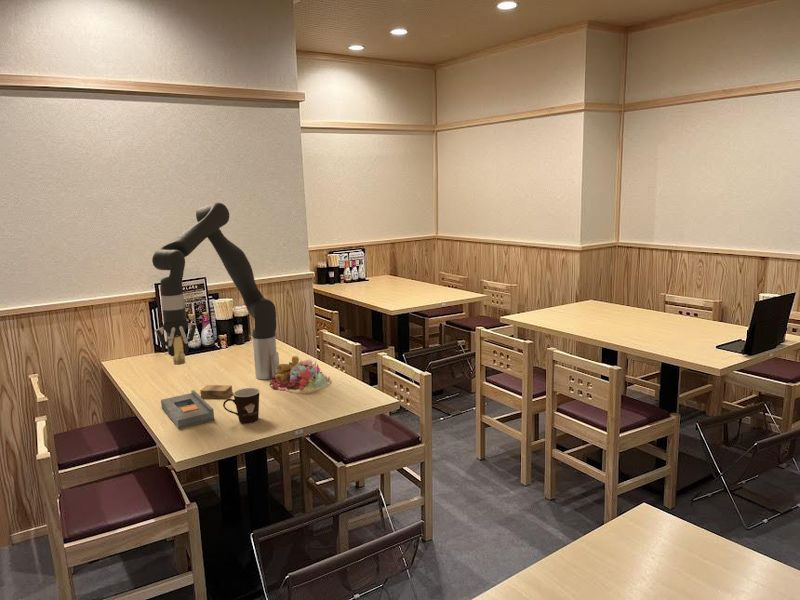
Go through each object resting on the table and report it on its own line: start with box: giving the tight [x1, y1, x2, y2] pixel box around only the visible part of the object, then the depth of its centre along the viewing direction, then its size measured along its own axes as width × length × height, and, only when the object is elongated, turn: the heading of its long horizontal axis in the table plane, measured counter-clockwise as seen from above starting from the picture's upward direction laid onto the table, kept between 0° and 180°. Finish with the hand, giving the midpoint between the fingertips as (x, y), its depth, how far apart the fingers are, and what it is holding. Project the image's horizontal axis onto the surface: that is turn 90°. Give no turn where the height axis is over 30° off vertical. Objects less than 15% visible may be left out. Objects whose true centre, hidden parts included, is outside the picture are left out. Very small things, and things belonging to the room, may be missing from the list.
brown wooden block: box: [200, 384, 233, 399], centre depth 231 cm, size 10×6×3 cm, turn 83°
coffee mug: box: [222, 387, 260, 425], centre depth 205 cm, size 12×9×10 cm
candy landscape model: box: [269, 355, 332, 395], centre depth 242 cm, size 25×24×9 cm
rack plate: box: [160, 389, 215, 430], centre depth 213 cm, size 24×12×4 cm, turn 34°
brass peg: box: [172, 335, 186, 366], centre depth 212 cm, size 4×4×10 cm
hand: (178, 354), depth 212 cm, fingers closed on brass peg, 4 cm apart
